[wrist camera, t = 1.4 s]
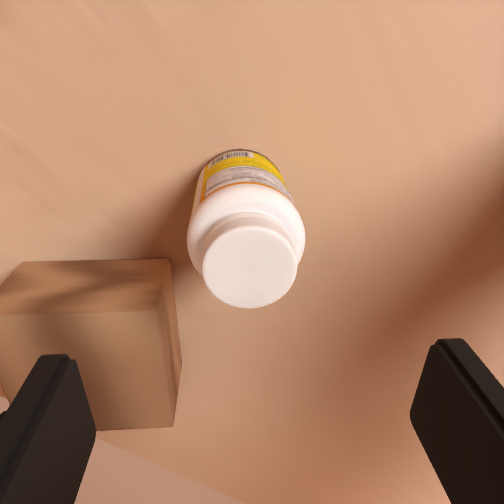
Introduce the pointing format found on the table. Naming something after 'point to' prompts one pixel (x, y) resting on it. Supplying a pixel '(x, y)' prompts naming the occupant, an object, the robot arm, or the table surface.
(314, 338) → the table surface
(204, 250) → the supplement bottle
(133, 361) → the walnut block
